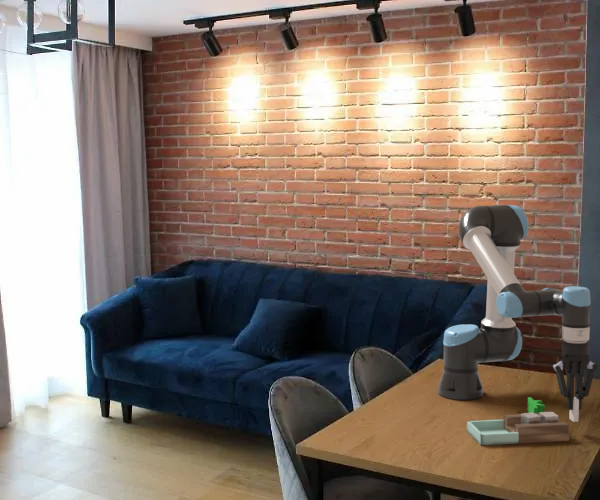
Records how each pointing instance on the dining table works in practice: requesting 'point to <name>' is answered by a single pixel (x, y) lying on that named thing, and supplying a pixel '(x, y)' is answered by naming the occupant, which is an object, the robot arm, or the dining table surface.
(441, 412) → the dining table surface
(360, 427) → the dining table surface
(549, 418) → the chip
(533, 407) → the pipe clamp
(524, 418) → the chip
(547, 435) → the slot board
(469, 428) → the tray
